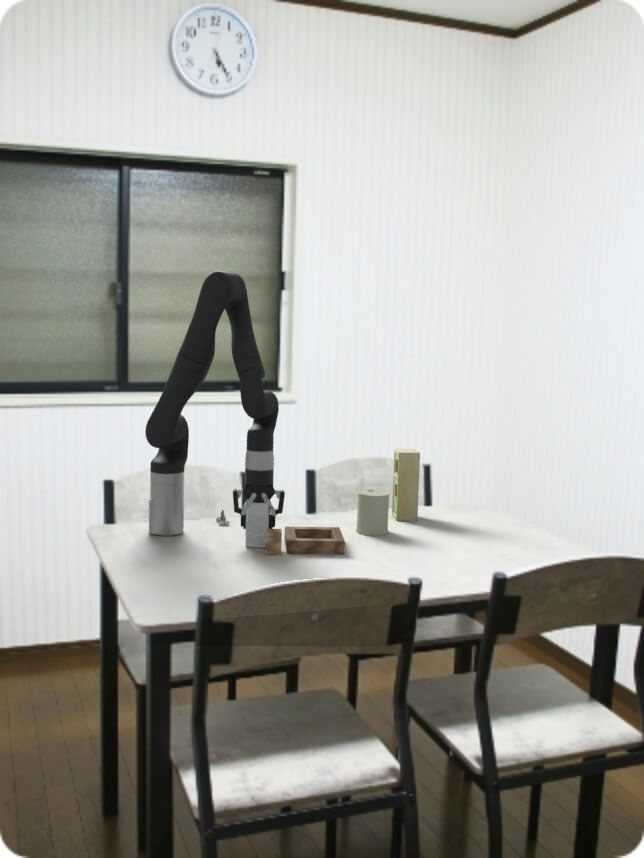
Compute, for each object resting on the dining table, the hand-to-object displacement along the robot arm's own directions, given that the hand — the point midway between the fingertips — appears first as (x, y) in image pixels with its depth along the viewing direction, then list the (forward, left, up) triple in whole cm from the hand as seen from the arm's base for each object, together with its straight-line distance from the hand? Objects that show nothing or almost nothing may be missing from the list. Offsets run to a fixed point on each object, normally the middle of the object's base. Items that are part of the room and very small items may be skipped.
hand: (257, 528), depth 245 cm
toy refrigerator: (+45, +35, -5) cm, 57 cm away
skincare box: (0, 0, -5) cm, 5 cm away
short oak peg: (+4, -7, -5) cm, 9 cm away
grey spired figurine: (-9, +21, -5) cm, 23 cm away
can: (+33, +17, -5) cm, 37 cm away
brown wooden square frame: (+15, 0, -5) cm, 16 cm away
